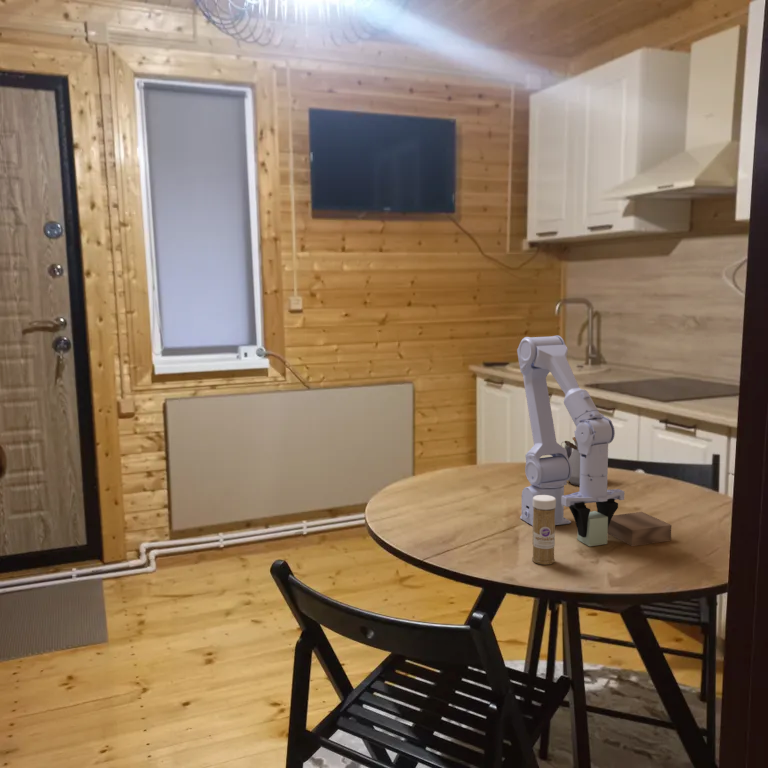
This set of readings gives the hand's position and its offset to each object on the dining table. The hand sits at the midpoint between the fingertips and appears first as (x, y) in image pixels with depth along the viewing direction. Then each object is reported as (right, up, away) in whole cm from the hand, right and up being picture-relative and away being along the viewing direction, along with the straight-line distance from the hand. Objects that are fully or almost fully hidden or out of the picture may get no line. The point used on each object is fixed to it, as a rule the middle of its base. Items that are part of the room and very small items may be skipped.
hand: (592, 534), depth 154 cm
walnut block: (+11, -1, +4) cm, 12 cm away
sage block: (0, -2, 0) cm, 2 cm away
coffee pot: (+9, +4, +43) cm, 45 cm away
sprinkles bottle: (-13, -4, -10) cm, 17 cm away
